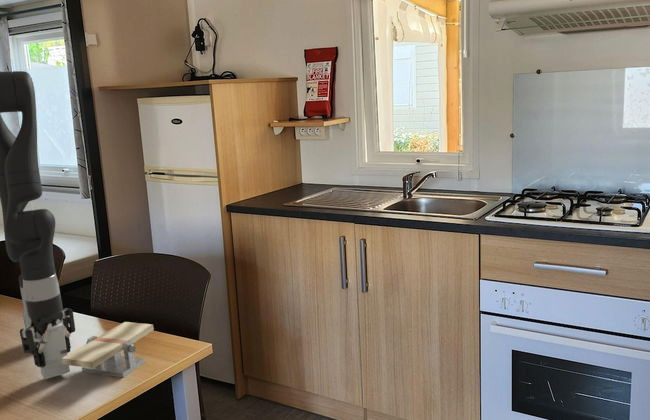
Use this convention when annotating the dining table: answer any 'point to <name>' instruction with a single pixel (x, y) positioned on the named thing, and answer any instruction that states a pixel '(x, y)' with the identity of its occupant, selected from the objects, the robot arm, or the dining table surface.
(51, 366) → the skincare box
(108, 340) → the balance beam
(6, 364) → the dining table surface
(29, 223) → the robot arm
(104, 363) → the pivot stand
